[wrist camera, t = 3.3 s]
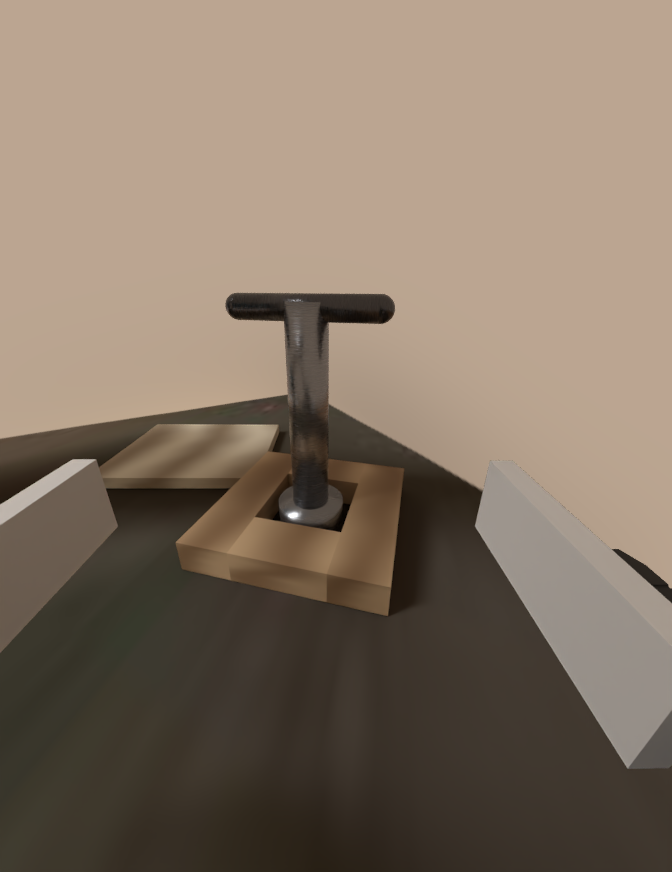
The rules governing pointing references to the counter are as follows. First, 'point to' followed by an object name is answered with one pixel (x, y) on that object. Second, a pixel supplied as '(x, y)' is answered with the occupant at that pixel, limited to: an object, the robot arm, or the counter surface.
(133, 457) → the birch board
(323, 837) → the counter surface
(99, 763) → the counter surface
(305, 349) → the chuck key
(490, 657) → the counter surface
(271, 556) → the holder block
